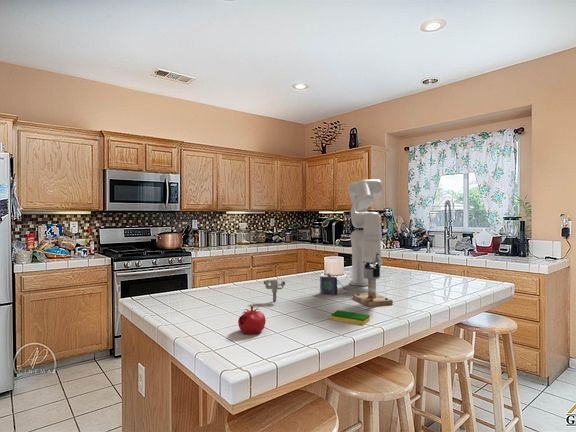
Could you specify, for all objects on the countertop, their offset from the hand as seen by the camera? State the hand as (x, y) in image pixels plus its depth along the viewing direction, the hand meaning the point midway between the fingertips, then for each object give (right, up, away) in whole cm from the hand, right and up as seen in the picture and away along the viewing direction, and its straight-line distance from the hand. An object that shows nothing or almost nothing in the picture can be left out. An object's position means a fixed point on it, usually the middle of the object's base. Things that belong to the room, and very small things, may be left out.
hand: (371, 275), depth 170 cm
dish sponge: (-15, -14, -28) cm, 34 cm away
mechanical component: (-46, -13, +1) cm, 48 cm away
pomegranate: (-53, -14, -41) cm, 68 cm away
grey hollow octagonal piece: (0, -1, 0) cm, 1 cm away
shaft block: (0, -12, 0) cm, 12 cm away
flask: (-19, -13, +16) cm, 28 cm away
